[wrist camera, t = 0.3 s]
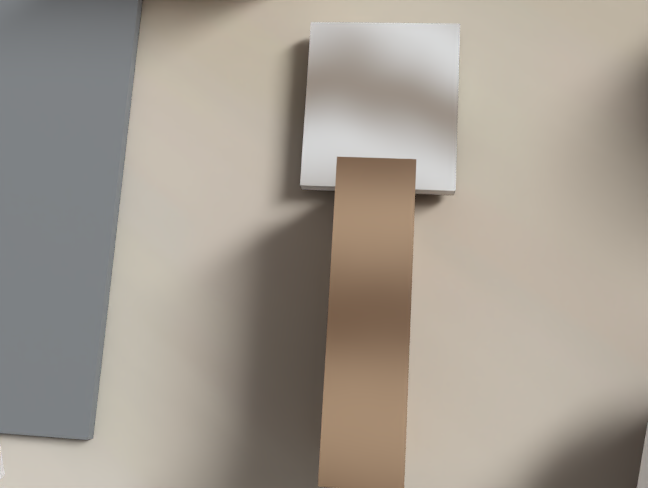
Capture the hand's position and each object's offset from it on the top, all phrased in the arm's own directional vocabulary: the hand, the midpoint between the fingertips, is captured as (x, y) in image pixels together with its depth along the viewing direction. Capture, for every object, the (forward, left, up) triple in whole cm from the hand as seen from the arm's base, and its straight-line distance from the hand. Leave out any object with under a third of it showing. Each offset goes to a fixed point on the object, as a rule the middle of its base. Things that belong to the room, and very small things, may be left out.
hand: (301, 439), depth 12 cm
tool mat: (+8, +16, -16) cm, 24 cm away
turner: (+7, -1, -16) cm, 17 cm away
